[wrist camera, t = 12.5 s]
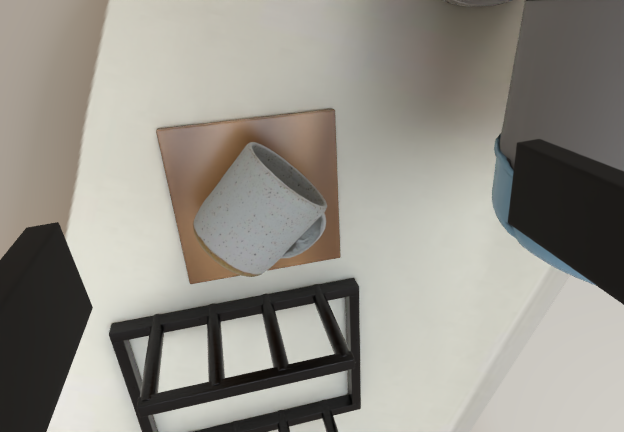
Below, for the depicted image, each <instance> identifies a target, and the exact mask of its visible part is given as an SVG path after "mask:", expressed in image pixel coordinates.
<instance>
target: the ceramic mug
mask: <svg viewBox="0 0 624 432" xmlns="http://www.w3.org/2000/svg"><path fill="white" fill-rule="evenodd" d="M326 208H327V204H326V201H325V199H324V198H323V196H322V195H321V194H320V192H319V191H318V190H317V189H316V188H315V186H314V185H313V184H312V183H311V182H310V181H309V180H308V179H307V178H306V177H305V176H304V175H303V174H301V173H300V172H299V171H298V170H297V169H296V168H294V167H293V166H292V165H291V164H289V163H288V162H287V161H286V160H285V159H283V158H282V157H281V156H279V155H278V154H276V153H275V152H274V151H271V150H270V149H269V148H267V147H265V146H263V145H261V144H258V143H256V142H250V143H248V144H247V145H246V146H245V148H244V149H243V150H242V152H241V153H240V154H239V156H238V157H237V159H236V160H235V161H234V162H233V164H232V165H231V166H230V168H229V169H228V170H227V172H226V173H225V174H224V176H223V177H222V178H221V180H220V181H219V183H218V184H217V186H216V187H215V188H214V190H213V191H212V192H211V193H210V195H209V196H208V197H207V198H206V199H205V201H204V202H203V204H202V205H201V207H200V209H199V211H198V213H197V215H196V216H195V219H194V222H193V229H194V234H195V237H196V239H197V241H198V243H199V244H200V246H201V247H202V249H203V250H204V251H205V252H206V253H207V254H208V255H209V256H210V257H211V258H212V259H213V260H214V261H215V262H217V263H218V264H220V265H221V266H222V267H224V268H226V269H227V270H229V271H231V272H233V273H236V274H238V275H242V276H247V277H254V276H258V275H261V274H262V273H264V272H265V271H267V270H268V269H269V268H271V267H272V266H273V265H274V264H275V263H276V262H277V261H278V260H279V259H280V258H291V257H294V256H297V255H299V254H301V253H303V252H304V251H306V250H307V249H309V248H310V247H311V246H312V245H313V244H314V243H315V242H316V241H317V240H318V239H319V238H320V237H321V235H322V233H323V232H324V230H325V227H326V216H325V213H324V212H325V210H326Z"/></svg>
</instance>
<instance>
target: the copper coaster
mask: <svg viewBox="0 0 624 432" xmlns="http://www.w3.org/2000/svg"><path fill="white" fill-rule="evenodd" d="M156 132H157V137H158V141H159V146H160V150H161V155H162V159H163V164H164V168H165V173H166V177H167V182H168V187H169V191H170V196H171V200H172V205H173V209H174V214H175V218H176V223H177V227H178V232H179V236H180V241H181V245H182V250H183V254H184V259H185V263H186V268H187V272H188V277H189V281H190V284H195V283H200V282H206V281H211V280H217V279H223V278H228V277H234V276H239V275H238V274H236V273H233V272H231V271H229V270H227V269H226V268H224V267H222V266H221V265H220V264H218V263H217V262H215V261H214V260H213V259H212V258H211V257H210V256H209V255H208V254H207V253H206V252H205V251H204V250H203V249H202V247H201V246H200V244H199V243H198V241H197V239H196V237H195V234H194V229H193V222H194V219H195V216H196V215H197V213H198V211H199V209H200V207H201V205H202V204H203V202H204V201H205V199H206V198H207V197H208V196H209V195H210V193H211V192H212V191H213V190H214V188H215V187H216V186H217V184H218V183H219V181H220V180H221V178H222V177H223V176H224V174H225V173H226V172H227V170H228V169H229V168H230V166H231V165H232V164H233V162H234V161H235V160H236V159H237V157H238V156H239V154H240V153H241V152H242V150H243V149H244V148H245V146H246V145H247V144H248V143H250V142H256V143H258V144H261V145H263V146H265V147H267V148H269V149H270V150H271V151H274V152H275V153H276V154H278V155H279V156H281V157H282V158H283V159H285V160H286V161H287V162H288V163H289V164H291V165H292V166H293V167H294V168H296V169H297V170H298V171H299V172H300V173H301V174H303V175H304V176H305V177H306V178H307V179H308V180H309V181H310V182H311V183H312V184H313V185H314V186H315V188H316V189H317V190H318V191H319V192H320V194H321V195H322V196H323V198H324V199H325V201H326V204H327V208H326V210H325V212H324V213H325V216H326V227H325V230H324V232H323V233H322V235H321V237H320V238H319V239H318V240H317V241H316V242H315V243H314V244H313V245H312V246H311V247H310V248H309V249H307V250H306V251H304V252H303V253H301V254H299V255H297V256H294V257H291V258H280V259H279V260H278V261H277V262H276V263H275V264H274V265H273V266H272V267H271V268H269V269H268V270H273V269H279V268H284V267H290V266H295V265H301V264H307V263H312V262H318V261H323V260H329V259H335V258H340V235H339V208H338V181H337V153H336V126H335V110H334V109H328V110H319V111H310V112H302V113H293V114H284V115H275V116H266V117H258V118H249V119H240V120H231V121H223V122H214V123H205V124H196V125H187V126H179V127H170V128H161V129H157V131H156Z"/></svg>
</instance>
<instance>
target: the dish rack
mask: <svg viewBox="0 0 624 432" xmlns="http://www.w3.org/2000/svg"><path fill="white" fill-rule="evenodd" d="M343 297H345V304H346V335H347V344H346V342H345V339H344V337H343V335H342V333H341V330H340V328H339V326H338V324H337V321H336V319H335V317H334V315H333V312H332V310H331V308H330V306H329V303H328V300H333V299H338V298H343ZM313 303H315V305H316V308H317V311H318V313H319V316H320V318H321V321H322V323H323V326H324V328H325V331H326V333H327V336H328V338H329V341H330V343H331V346H332V348H333V351H334V353H335V354H333V355H329V356H324V357H320V358H315V359H311V360H306V361H302V362H297V363H293V364H288V360H287V356H286V352H285V348H284V344H283V340H282V336H281V332H280V328H279V324H278V321H277V317H276V313H275V311H277V310H282V309H287V308H292V307H297V306H302V305H307V304H313ZM256 314H262V315H263V320H264V324H265V329H266V334H267V339H268V343H269V348H270V353H271V358H272V362H273V367H274V368H270V369H265V370H261V371H256V372H252V373H247V374H242V375H238V376H233V377H229V378H225V375H224V361H223V348H222V334H221V321H226V320H231V319H236V318H241V317H246V316H251V315H256ZM205 324H207V338H208V373H209V382H206V383H202V384H197V385H192V386H188V387H183V388H179V389H174V390H170V391H165V392H161V393H158V384H159V374H160V365H161V356H162V346H163V337H164V333H165V332H170V331H175V330H180V329H185V328H190V327H195V326H200V325H205ZM109 336H110V339H111V342H112V345H113V348H114V351H115V354H116V356H117V359H118V362H119V365H120V368H121V371H122V374H123V377H124V380H125V383H126V386H127V389H128V392H129V394H130V397H131V400H132V403H133V406H134V409H135V412H136V415H137V418H138V421H139V424H140V427H141V430H142V432H158V430H157V427H156V424H155V421H154V418H153V414H158V413H162V412H166V411H171V410H175V409H180V408H184V407H188V406H193V405H197V404H201V403H206V402H210V401H215V400H219V399H223V398H228V397H232V396H237V395H241V394H245V393H250V392H254V391H258V390H263V389H267V388H272V387H276V386H280V385H285V384H289V383H294V382H298V381H302V380H307V379H311V378H316V377H320V376H324V375H329V374H333V373H337V372H342V371H346V370H348V395H345V396H341V397H337V398H333V399H329V400H322V401H320V402H316V403H312V404H308V405H304V406H299V407H295V408H291V409H287V410H280V411H278V412H274V413H270V414H266V415H262V416H257V417H253V418H249V419H245V420H241V421H235V422H232V423H228V424H224V425H220V426H216V427H211V428H207V429H203V430H199V431H195V432H268V431H272V430H276V429H278V431H279V432H290V429H289V426H293V425H297V424H301V423H305V422H309V421H313V420H317V419H321V418H323V422H324V425H325V428H326V432H338V429H337V426H336V423H335V420H334V417H333V415H337V414H342V413H346V412H350V411H354V410H358V409H361V395H360V329H359V286H358V284H357V282H356V281H355V279H354V278H352V279H346V280H341V281H336V282H330V283H325V284H320V285H313V286H309V287H304V288H299V289H293V290H288V291H283V292H277V293H272V294H263V295H261V296H256V297H251V298H245V299H240V300H235V301H230V302H224V303H219V304H210V305H208V306H203V307H198V308H192V309H187V310H182V311H177V312H171V313H166V314H156V315H154V316H150V317H145V318H139V319H134V320H129V321H123V322H118V323H113V324H112V325H111V328H110V332H109ZM144 336H149V340H148V347H147V353H146V360H145V367H144V373H143V380H141V377H140V374H139V371H138V367H137V364H136V361H135V358H134V355H133V352H132V349H131V345H130V342H129V339H134V338H139V337H144Z"/></svg>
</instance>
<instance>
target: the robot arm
mask: <svg viewBox="0 0 624 432" xmlns="http://www.w3.org/2000/svg"><path fill="white" fill-rule="evenodd" d="M443 1H445V2H448V3H451V4H455V5H460V6H492V5H498V4H502V3H506V2H509V1H511V0H443ZM494 150H495V155H496V164H495V172H494V180H493V188H492V202H493V207H494V210H495V213H496V215H497V218H498V219H499V221H500V223H501V224H502V226H503V227H504V228H505V229H506V230H507V232H508V233H509V234H511V235H512V236H513V237H515V238H516V239H517V240H518V242H519V243H520V244H521V245H522V246H523V247H524V248H525V249H527V250H528V251H529V252H531V253H532V254H534V255H535V256H537V257H538V258H540V259H542V260H543V261H545V262H546V263H548V264H550V265H552V266H554V267H555V268H557V269H559V270H561V271H563V272H565V273H567V274H570V275H572V276H574V277H576V278H579V279H581V280H584V281H586V282H589V283H591V284H594V285H596V286H598V287H599V288H601V289H602V290H604V291H605V292H607V293H608V294H609V295H611V296H612V297H614V298H615V299H617V300H618V301H619V302H621V303H622V304H624V0H526V1H525V4H524V10H523V16H522V21H521V27H520V32H519V38H518V44H517V49H516V55H515V60H514V66H513V72H512V77H511V83H510V88H509V94H508V100H507V105H506V111H505V116H504V122H503V127H502V132H501V134H500V135H499V136H498V138H497V139H496V141H495V147H494ZM92 308H93V307H92V304H91V302H90V300H89V297H88V295H87V292H86V290H85V287H84V285H83V282H82V280H81V277H80V275H79V272H78V270H77V267H76V265H75V262H74V260H73V257H72V255H71V252H70V250H69V247H68V245H67V242H66V240H65V237H64V235H63V232H62V230H61V227H60V225H59V223H58V222H57V223H51V224H46V225H40V226H34V227H28V228H26V229H25V230H24V231H23V233H22V234H21V235H20V236H19V238H18V239H17V240H16V241H15V243H14V244H13V245H12V246H11V247H10V249H9V250H8V251H7V253H6V254H5V255H4V256H3V257H2V259H1V260H0V432H46V431H47V429H48V426H49V423H50V421H51V418H52V415H53V412H54V410H55V407H56V404H57V402H58V399H59V396H60V394H61V391H62V388H63V386H64V383H65V380H66V378H67V375H68V372H69V370H70V367H71V364H72V362H73V359H74V356H75V354H76V351H77V348H78V346H79V343H80V340H81V338H82V335H83V332H84V330H85V327H86V324H87V322H88V319H89V316H90V314H91V311H92Z"/></svg>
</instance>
